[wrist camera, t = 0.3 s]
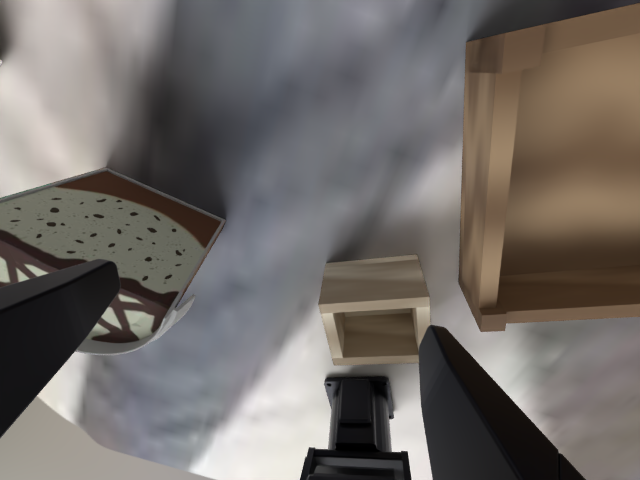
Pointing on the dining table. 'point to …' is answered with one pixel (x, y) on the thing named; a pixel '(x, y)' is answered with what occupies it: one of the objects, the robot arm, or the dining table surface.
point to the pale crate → (375, 310)
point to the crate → (552, 172)
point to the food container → (111, 249)
